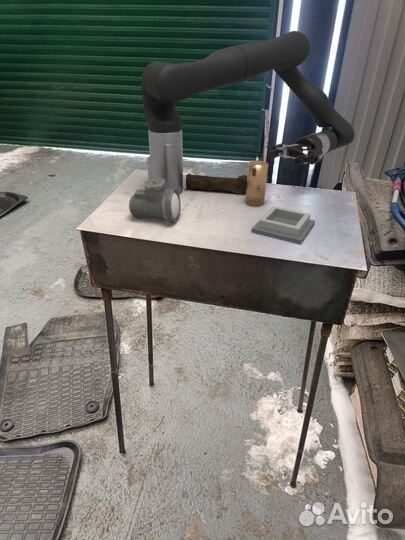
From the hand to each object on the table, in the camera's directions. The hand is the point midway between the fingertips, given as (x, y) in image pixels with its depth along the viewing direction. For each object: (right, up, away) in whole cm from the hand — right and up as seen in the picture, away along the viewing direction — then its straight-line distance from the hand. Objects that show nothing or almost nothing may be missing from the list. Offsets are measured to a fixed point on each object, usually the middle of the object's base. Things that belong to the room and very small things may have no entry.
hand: (282, 158), depth 107 cm
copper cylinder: (-8, -13, -2) cm, 15 cm away
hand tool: (-16, -8, +6) cm, 19 cm away
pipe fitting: (-34, -18, -11) cm, 41 cm away
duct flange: (-3, -21, -15) cm, 26 cm away
